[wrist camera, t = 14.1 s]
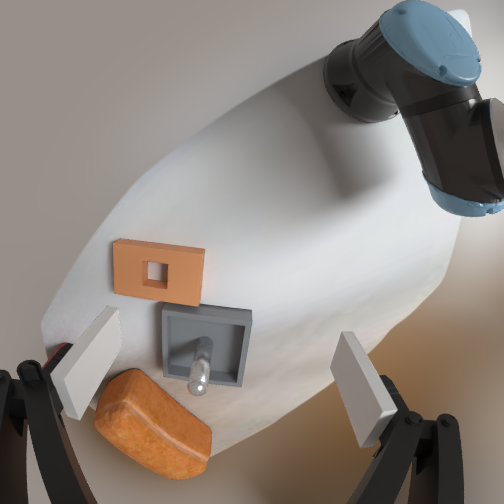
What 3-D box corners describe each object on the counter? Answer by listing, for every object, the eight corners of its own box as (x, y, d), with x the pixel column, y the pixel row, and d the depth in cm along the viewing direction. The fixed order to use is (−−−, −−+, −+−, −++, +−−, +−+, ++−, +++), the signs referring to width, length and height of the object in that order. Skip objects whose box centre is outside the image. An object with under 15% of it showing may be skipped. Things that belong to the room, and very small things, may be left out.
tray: (251, 309, 50) (252, 321, 46) (241, 373, 54) (241, 387, 50) (167, 299, 49) (161, 309, 45) (167, 364, 53) (163, 376, 49)
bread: (178, 444, 61) (170, 491, 46) (103, 383, 55) (78, 430, 39) (218, 430, 59) (214, 482, 44) (138, 362, 53) (114, 415, 38)
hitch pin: (214, 337, 50) (207, 387, 37) (212, 350, 51) (206, 401, 38) (197, 335, 50) (186, 384, 37) (197, 348, 51) (186, 398, 38)
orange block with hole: (204, 248, 46) (202, 254, 43) (200, 298, 49) (198, 306, 46) (120, 238, 45) (113, 242, 42) (120, 286, 48) (114, 293, 45)
